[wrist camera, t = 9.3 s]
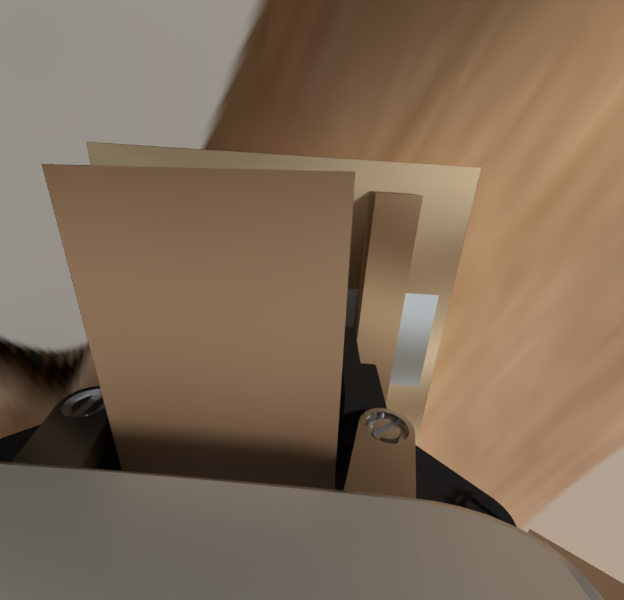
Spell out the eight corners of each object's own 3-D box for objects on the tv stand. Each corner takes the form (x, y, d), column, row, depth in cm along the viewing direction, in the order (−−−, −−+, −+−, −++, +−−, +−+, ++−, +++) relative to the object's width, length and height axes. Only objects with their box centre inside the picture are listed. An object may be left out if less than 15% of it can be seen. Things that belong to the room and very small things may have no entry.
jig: (107, 144, 13) (9, 131, 9) (467, 168, 12) (532, 165, 8) (162, 502, 20) (122, 582, 16) (389, 521, 20) (404, 607, 16)
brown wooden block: (198, 170, 10) (41, 164, 5) (339, 173, 10) (355, 171, 4) (229, 486, 15) (173, 665, 10) (323, 492, 15) (321, 677, 10)
